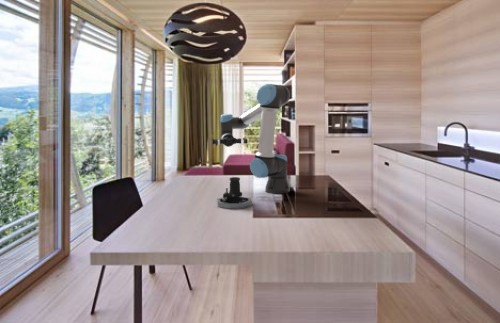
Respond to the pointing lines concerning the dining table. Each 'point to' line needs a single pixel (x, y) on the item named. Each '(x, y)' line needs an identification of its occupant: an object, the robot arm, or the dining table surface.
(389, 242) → the dining table surface
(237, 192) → the scope
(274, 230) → the dining table surface
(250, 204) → the dark grey octagonal bowl
